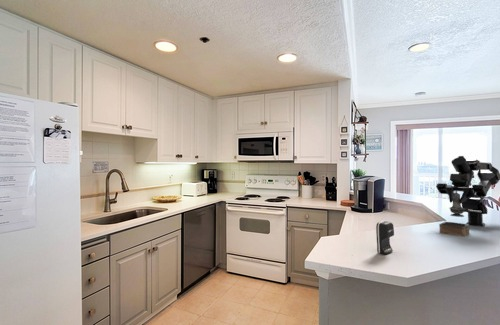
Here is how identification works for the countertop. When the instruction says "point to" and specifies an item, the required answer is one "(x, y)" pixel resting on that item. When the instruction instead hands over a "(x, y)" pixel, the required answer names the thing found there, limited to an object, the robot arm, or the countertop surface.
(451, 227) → the holder
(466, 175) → the robot arm
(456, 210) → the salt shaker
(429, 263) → the countertop surface
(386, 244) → the coffee maker
